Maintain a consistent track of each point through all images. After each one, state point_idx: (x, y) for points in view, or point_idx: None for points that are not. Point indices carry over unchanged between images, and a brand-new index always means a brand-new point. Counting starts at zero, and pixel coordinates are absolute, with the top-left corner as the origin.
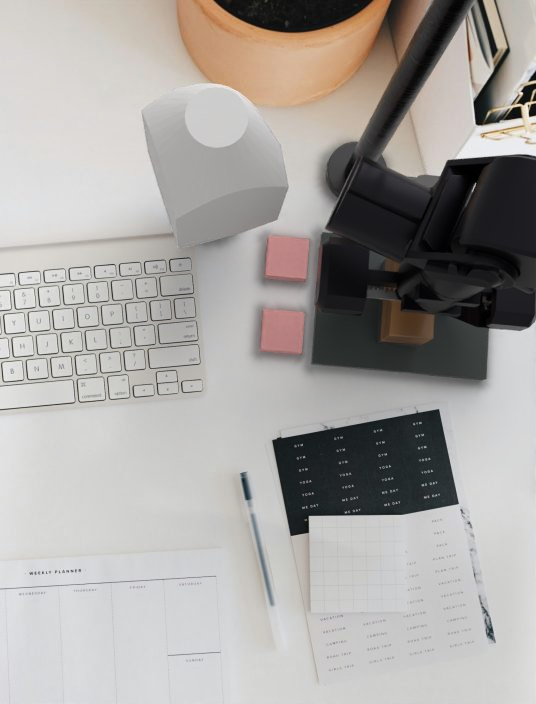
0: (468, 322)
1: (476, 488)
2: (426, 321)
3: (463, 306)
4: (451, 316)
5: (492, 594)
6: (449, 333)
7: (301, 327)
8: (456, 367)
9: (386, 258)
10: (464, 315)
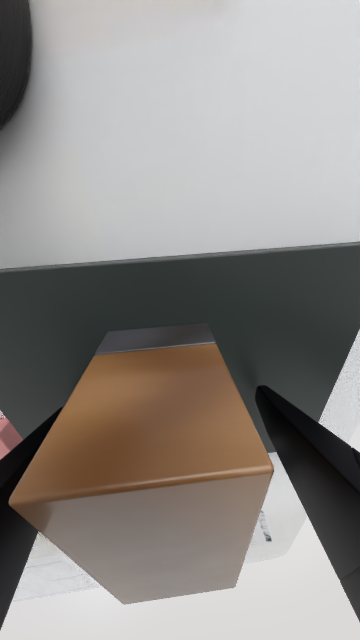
0: (348, 594)
1: (271, 497)
2: (217, 579)
3: (330, 520)
4: (274, 447)
5: (274, 530)
6: (259, 415)
7: (6, 453)
8: (265, 446)
9: (89, 365)
10: (330, 546)
